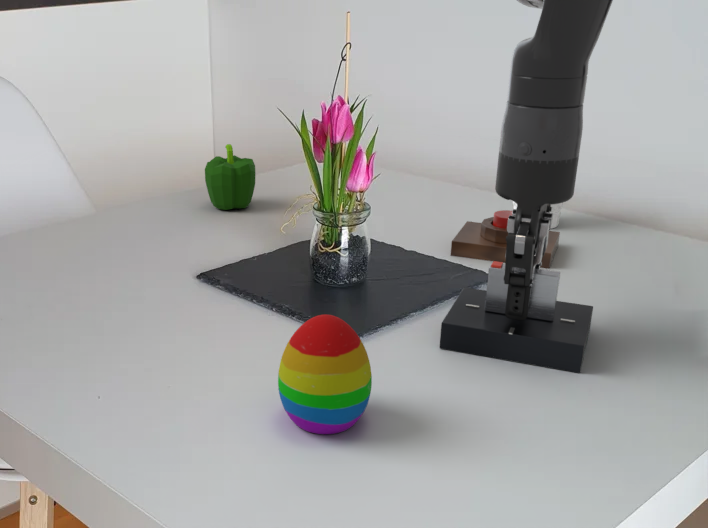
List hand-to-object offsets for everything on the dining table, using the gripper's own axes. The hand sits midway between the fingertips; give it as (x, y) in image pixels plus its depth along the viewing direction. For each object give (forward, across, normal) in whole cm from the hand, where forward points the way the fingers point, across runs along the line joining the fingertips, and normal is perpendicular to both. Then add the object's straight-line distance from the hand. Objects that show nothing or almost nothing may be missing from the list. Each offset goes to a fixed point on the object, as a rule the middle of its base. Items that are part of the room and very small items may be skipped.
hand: (519, 308), depth 89 cm
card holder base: (+4, 0, 0) cm, 4 cm away
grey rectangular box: (+1, 0, 0) cm, 1 cm away
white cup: (+4, +44, +4) cm, 44 cm away
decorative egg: (+4, -24, +13) cm, 28 cm away
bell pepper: (+4, +34, +51) cm, 61 cm away
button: (0, +29, +6) cm, 30 cm away
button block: (+4, +29, +6) cm, 30 cm away
